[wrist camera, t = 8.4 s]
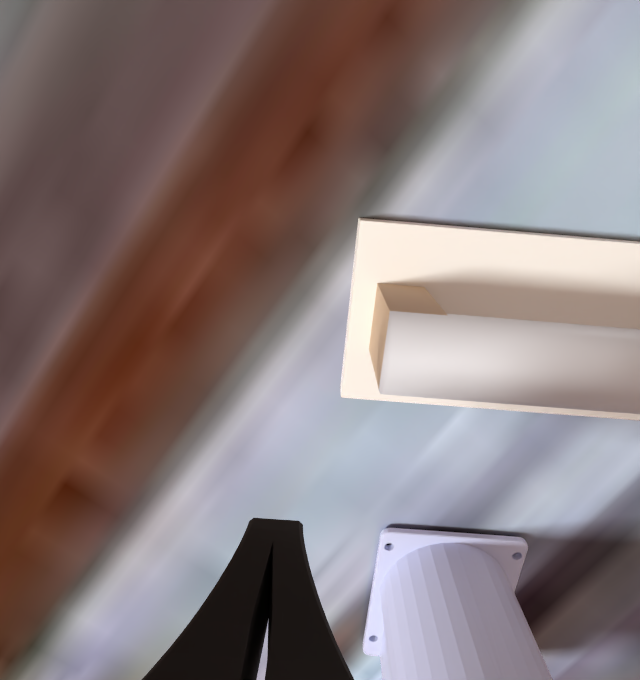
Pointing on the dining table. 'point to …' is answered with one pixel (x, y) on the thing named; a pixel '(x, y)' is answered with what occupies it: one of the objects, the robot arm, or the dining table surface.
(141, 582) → the dining table surface
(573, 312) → the pipe stand
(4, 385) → the dining table surface
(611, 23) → the dining table surface
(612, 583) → the dining table surface
